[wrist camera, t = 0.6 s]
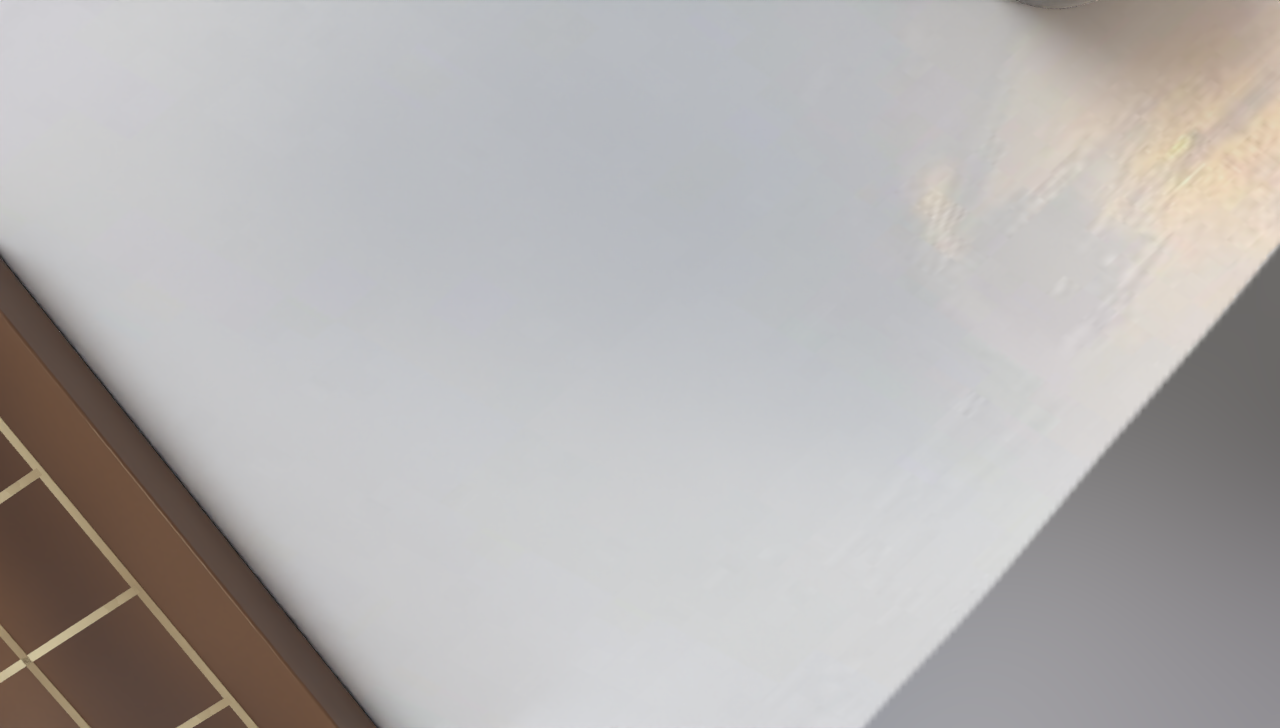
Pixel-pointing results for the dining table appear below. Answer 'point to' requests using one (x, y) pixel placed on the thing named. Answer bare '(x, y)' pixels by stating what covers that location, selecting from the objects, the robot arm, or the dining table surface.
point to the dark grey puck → (1056, 3)
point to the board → (125, 571)
